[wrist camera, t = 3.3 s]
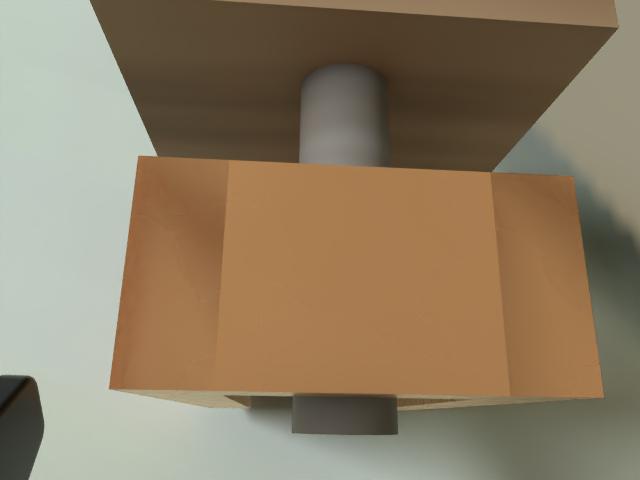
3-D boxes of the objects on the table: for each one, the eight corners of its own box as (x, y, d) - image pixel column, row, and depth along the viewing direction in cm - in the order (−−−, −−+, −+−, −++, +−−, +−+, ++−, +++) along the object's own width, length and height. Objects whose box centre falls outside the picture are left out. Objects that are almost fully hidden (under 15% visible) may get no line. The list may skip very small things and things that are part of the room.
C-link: (404, 410, 17) (604, 398, 7) (210, 407, 17) (108, 388, 6) (401, 315, 18) (573, 176, 8) (217, 309, 18) (138, 155, 7)
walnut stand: (429, 427, 18) (694, 440, 7) (180, 424, 18) (7, 433, 6) (418, 174, 21) (592, -119, 10) (202, 164, 20) (112, -161, 9)
